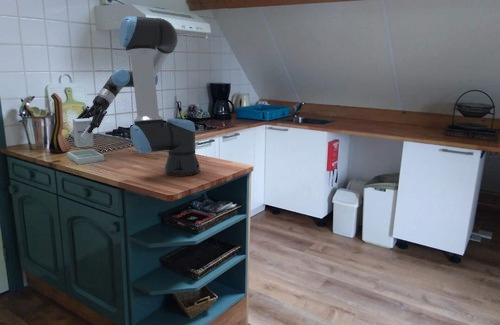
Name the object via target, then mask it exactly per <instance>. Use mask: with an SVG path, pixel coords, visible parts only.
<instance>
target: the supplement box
mask: <svg viewBox="0 0 500 325" xmlns="http://www.w3.org/2000/svg"><path fill="white" fill-rule="evenodd" d="M71 120H72V128H73V130H74V137H73V140H74V145H75V146H76V148H84V147H94V135H93V134H94V133H93V131H92V132H91V133H90V135H89V136H88V138H87V139H86V140H85V139H84V138H82V137H81V135H82V134H83V133H84V131H85V130H86V128H87V127H88V126H89V125H90V124H91V122H92V119H90V118H85V119H76V118H73V119H71ZM90 126H91V125H90Z"/></svg>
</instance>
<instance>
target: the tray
mask: <svg viewBox="0 0 500 325" xmlns="http://www.w3.org/2000/svg"><path fill="white" fill-rule="evenodd" d="M66 155H67V159H69V160H70V161H72V162H74V163H75V164H76V165H78V166H79V164H80V165H84V164H85V165H86V163H87V164H92V162H93V163H98V162H104V161H105V155H104V154H103V153H101V152H98V151H97V150H95V149H93V148H89V149H80V150H72V151H66Z"/></svg>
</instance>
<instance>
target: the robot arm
mask: <svg viewBox="0 0 500 325" xmlns="http://www.w3.org/2000/svg"><path fill="white" fill-rule="evenodd" d="M118 39H119V43H120V46H121V47H122V48H125V53H126V54H127V55H128V56H130V63H131V71H127V70H126V69H124V68H120V69H117V70H115V71H114V72H113V73H112V75H110V77H109V78H108V80H107V81H106V82H105V83H104V85H103V87H102V88H101V89H100V90H99V92H98V93H97V95H95V98H94V99H93V100H92V105H91V106H89V105H87V106H86V107H85V109H84V110H83V111H82V112H81V113H80V114H79V115H78V116H77V117H76V118H75V119H85V118H89V119H90V118H92V119H91V120H92V122H91V124H90V125H91V126H90V125H89V126H88V127H87V128H86V130H85V131H84V133H83V134H82V135H81V137H82V138H84V139H85V140H86V139H87V138H88V136H89V135H90V133H91V132H93V131H94V129H96V128H97V129H98V128H99V127H100V126H101V124H102V122H103V120H104V118H105V116H106V115H107V114H108V111H107V110H108V108H109V107H110V106H111V104H112V103H113V102H114V100H115V98H117V96H118V94H119V93H120V92H121V90H123V88H133V89H134V96H135V97H134V98H135V99H134V100H135V108H136V114H137V117H136V118H135V119H134V120H133V125H131V126H130V129H129V130H130V132H129V133H130V139H131V142H132V145H133V147H134V150H136V151H137V152H138V153H139V154H147V153H148V154H151V153H156V152H157V153H158V152H165V151H167V152H168V156H167V159H166V162H165V166H164V173H165V174H166V173H167V174H166V175H168V174H170V175H169V176H172V175H178V176H177V177H185V176H184V175H190V176H192V175H191V174H194V175H196V174H195V173H197V172H199V171H200V172H201V170H200V168H201V165H200V163H199V161H198V160H199V159H198V158H197V155H196V127H195V122H193V121H191V120H188V119H185V118H184V119H183V118H168V119H166V122H164V118H163V117H162V116H161V115H160V114H159V105H158V103H159V102H158V97H157V96H158V95H157V85H158V82H159V76H158V73H159V72H160V70H161V68H162V67H163V65H164V63H165V61H166V60H167V57H169V55H170V54H172V53H173V52H174V51H175V49H176V48H177V45H178V33H177V31H176V29H175V27H174V26H173V24H172V23H171V22H170V21H168V20H167V19H164V18H160V17H146V16H138V15H134V16H133V15H132V16H125V17H123V19H122V20H121V22H120V27H119V36H118ZM68 134H69V135H70V136H71V137H72V138H74V130H73V127H72V128H71V130H70V131H69V132H68ZM200 172H199V173H200ZM197 174H198V173H197Z"/></svg>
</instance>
